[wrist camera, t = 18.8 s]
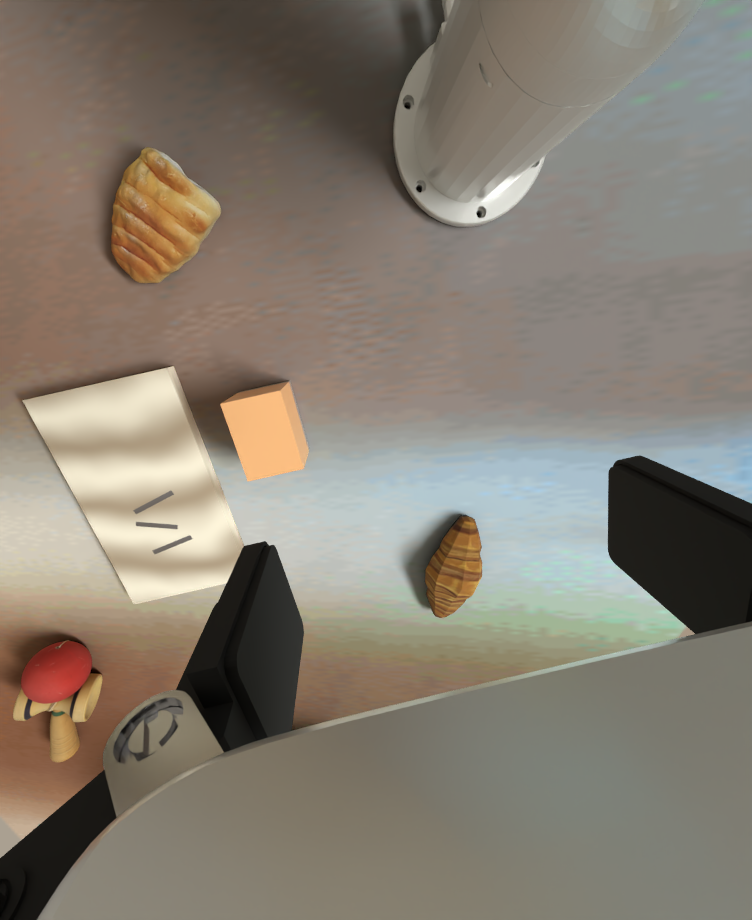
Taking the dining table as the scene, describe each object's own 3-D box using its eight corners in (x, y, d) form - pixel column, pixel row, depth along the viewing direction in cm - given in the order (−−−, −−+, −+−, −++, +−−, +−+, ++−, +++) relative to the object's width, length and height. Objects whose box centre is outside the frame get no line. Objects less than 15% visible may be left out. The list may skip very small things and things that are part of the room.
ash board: (35, 397, 35) (22, 400, 33) (173, 366, 35) (166, 367, 33) (140, 595, 42) (133, 604, 41) (253, 569, 43) (250, 577, 41)
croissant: (435, 507, 42) (447, 530, 38) (492, 515, 43) (510, 538, 39) (408, 604, 46) (416, 635, 42) (460, 610, 47) (473, 641, 43)
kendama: (117, 728, 51) (112, 641, 43) (77, 784, 45) (63, 695, 37) (62, 711, 51) (47, 621, 43) (15, 765, 45) (-11, 672, 37)
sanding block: (239, 391, 36) (220, 403, 30) (290, 380, 36) (280, 390, 30) (261, 458, 38) (247, 481, 33) (309, 447, 38) (303, 468, 33)
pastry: (174, 304, 33) (154, 301, 30) (100, 250, 31) (68, 240, 28) (230, 207, 31) (215, 192, 28) (154, 144, 29) (127, 119, 26)
